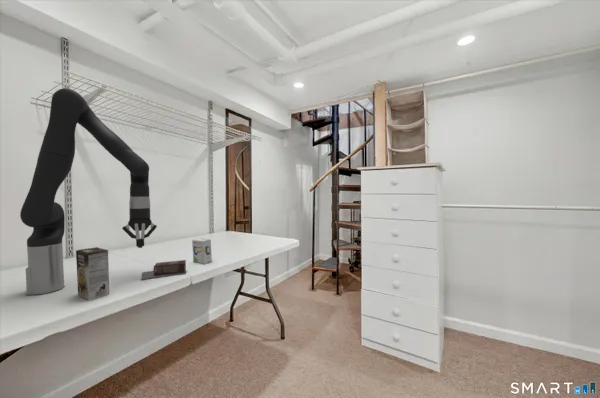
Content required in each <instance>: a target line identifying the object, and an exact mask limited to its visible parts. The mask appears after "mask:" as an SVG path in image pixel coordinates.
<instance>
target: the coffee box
mask: <svg viewBox="0 0 600 398" xmlns="http://www.w3.org/2000/svg"><path fill="white" fill-rule="evenodd" d="M75 258H76V260H75V261H76V277H77V278H76V279H77V295H78V296H80V297H81V298H83V299H85V300H86V301H93V300H95V299H98V298H99V299H100V298H101V297H104V296H109V295H110V269H109V264H110V263H109V249H105V248H100V247H91V248H82V249H77V250H75Z"/></svg>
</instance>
